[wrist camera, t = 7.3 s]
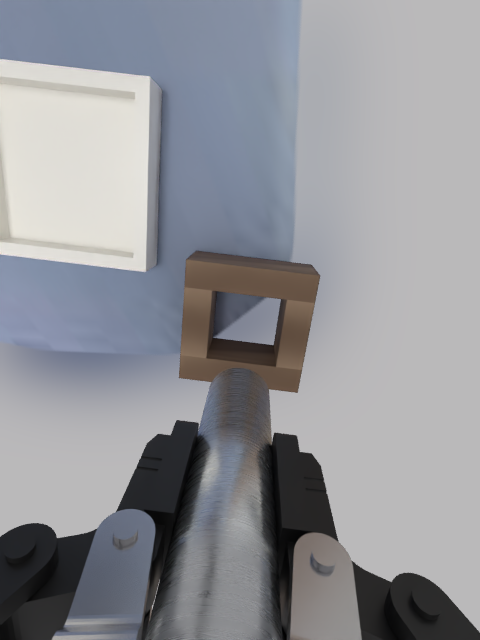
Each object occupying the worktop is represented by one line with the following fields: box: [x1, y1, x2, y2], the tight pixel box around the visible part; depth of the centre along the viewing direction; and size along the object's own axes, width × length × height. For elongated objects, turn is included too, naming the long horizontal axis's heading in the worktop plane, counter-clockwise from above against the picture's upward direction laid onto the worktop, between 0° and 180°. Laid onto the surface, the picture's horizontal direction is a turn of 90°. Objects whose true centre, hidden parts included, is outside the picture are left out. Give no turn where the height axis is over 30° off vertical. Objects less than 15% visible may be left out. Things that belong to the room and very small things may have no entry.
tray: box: [0, 59, 162, 272], centre depth 22 cm, size 11×11×2 cm
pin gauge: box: [145, 368, 282, 640], centre depth 9 cm, size 3×3×12 cm
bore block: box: [179, 251, 320, 393], centre depth 24 cm, size 8×8×4 cm
